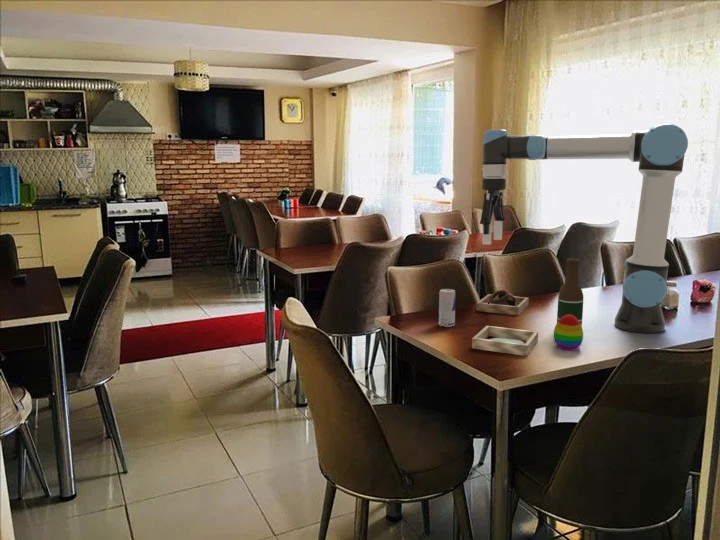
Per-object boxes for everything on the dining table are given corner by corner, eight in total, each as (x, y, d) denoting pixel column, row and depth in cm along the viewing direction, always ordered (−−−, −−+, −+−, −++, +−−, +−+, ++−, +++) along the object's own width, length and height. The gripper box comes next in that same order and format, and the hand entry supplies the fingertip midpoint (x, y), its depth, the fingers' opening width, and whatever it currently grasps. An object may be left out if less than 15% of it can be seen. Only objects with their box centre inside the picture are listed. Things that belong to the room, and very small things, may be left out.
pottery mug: (521, 313, 218) (512, 295, 216) (497, 323, 221) (488, 305, 218) (515, 298, 229) (507, 280, 226) (492, 307, 232) (484, 290, 229)
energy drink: (456, 324, 201) (457, 289, 199) (452, 328, 196) (453, 292, 194) (441, 322, 203) (442, 288, 201) (436, 326, 198) (437, 291, 196)
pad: (527, 342, 180) (527, 340, 180) (520, 352, 170) (520, 350, 170) (492, 337, 185) (492, 335, 185) (482, 347, 175) (482, 345, 175)
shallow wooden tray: (537, 341, 181) (538, 331, 181) (527, 355, 167) (527, 345, 167) (486, 334, 188) (486, 325, 188) (471, 348, 174) (472, 338, 174)
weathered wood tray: (528, 305, 228) (528, 297, 228) (518, 315, 213) (518, 307, 212) (488, 301, 235) (488, 293, 234) (476, 310, 220) (476, 302, 219)
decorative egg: (549, 343, 179) (550, 311, 177) (575, 343, 179) (577, 311, 177) (558, 352, 171) (560, 318, 169) (586, 351, 171) (589, 317, 169)
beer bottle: (578, 337, 185) (583, 261, 181) (553, 333, 189) (557, 259, 185) (583, 331, 192) (588, 258, 188) (559, 328, 196) (563, 256, 192)
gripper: (493, 177, 208) (491, 237, 211) (471, 178, 186) (470, 245, 190) (514, 177, 204) (512, 238, 208) (495, 178, 183) (493, 246, 186)
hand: (492, 242), depth 199 cm, fingers open, 13 cm apart
